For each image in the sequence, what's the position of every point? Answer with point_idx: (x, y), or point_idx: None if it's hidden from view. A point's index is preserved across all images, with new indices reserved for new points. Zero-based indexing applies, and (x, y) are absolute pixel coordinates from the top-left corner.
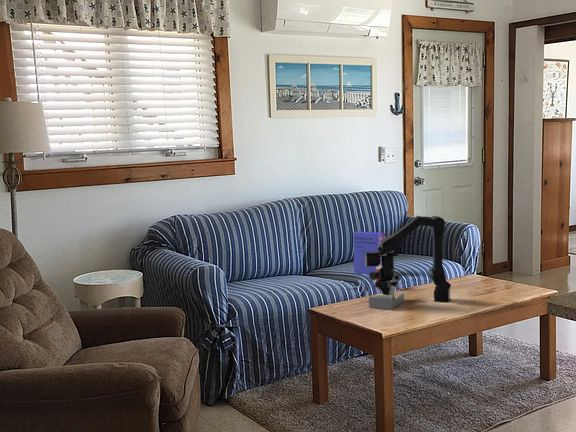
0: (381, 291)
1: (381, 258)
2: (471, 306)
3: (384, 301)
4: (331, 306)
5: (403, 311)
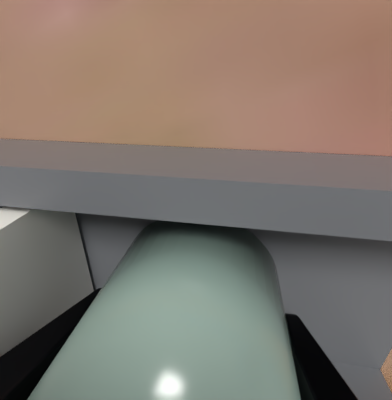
0: (100, 342)
1: None
2: None
3: None
4: None
5: None
